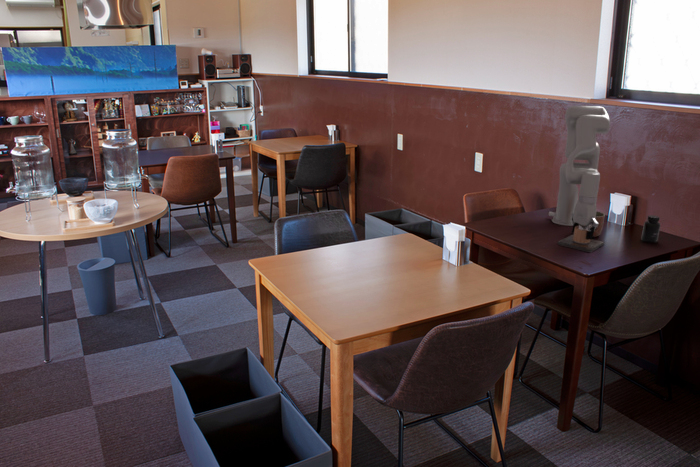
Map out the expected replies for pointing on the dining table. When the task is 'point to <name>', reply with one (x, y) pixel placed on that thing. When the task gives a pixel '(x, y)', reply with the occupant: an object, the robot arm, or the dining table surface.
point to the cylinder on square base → (581, 246)
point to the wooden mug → (580, 235)
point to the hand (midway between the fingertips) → (582, 235)
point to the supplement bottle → (651, 229)
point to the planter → (600, 220)
